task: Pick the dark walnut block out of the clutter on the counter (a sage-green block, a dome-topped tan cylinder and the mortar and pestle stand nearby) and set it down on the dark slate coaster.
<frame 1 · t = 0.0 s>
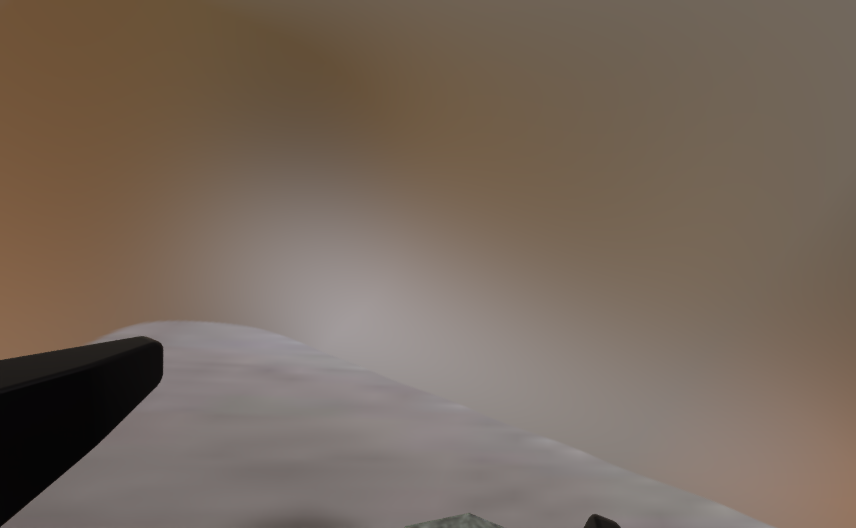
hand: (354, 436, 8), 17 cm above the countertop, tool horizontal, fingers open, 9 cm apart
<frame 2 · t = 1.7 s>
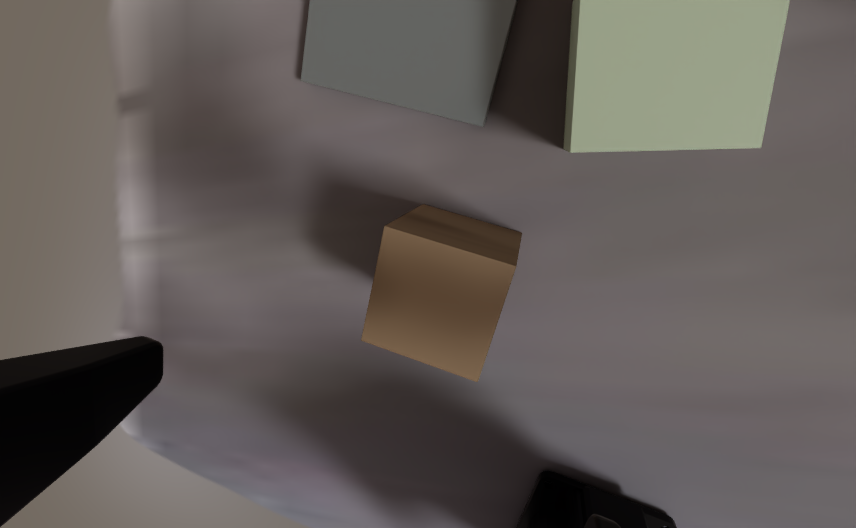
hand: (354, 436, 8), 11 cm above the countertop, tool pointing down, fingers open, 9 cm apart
sage block: (639, 76, 15), on the countertop
walnut block: (458, 264, 19), on the countertop
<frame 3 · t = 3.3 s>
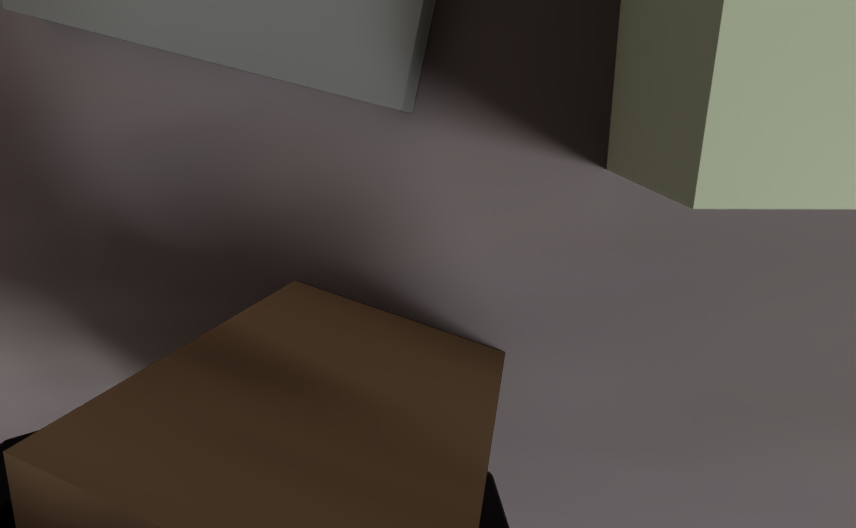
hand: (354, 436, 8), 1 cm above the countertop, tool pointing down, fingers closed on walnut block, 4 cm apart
walnut block: (374, 404, 9), on the countertop, touching gripper
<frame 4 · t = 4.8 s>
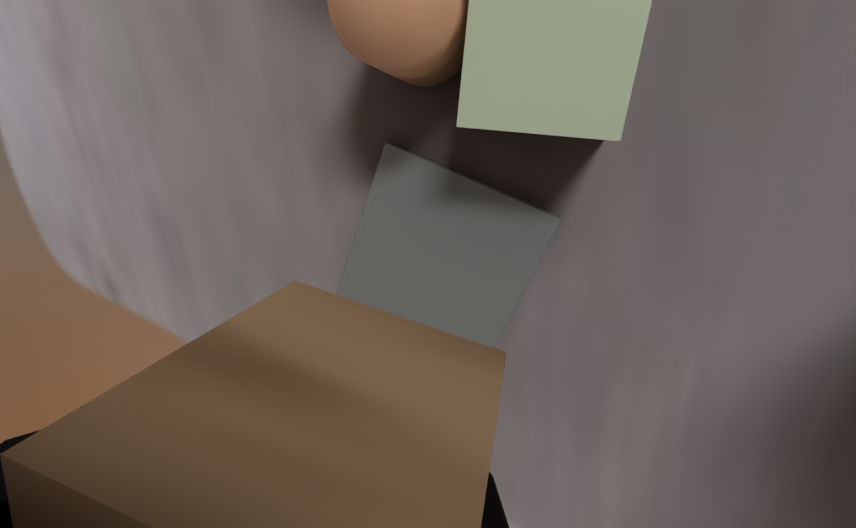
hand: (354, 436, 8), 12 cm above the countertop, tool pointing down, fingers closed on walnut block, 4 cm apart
sage block: (549, 65, 16), on the countertop
dome-topped tan cylinder: (425, 32, 16), on the countertop
slate coaster: (439, 259, 19), on the countertop
walnut block: (375, 405, 9), point 11 cm above the countertop, touching gripper
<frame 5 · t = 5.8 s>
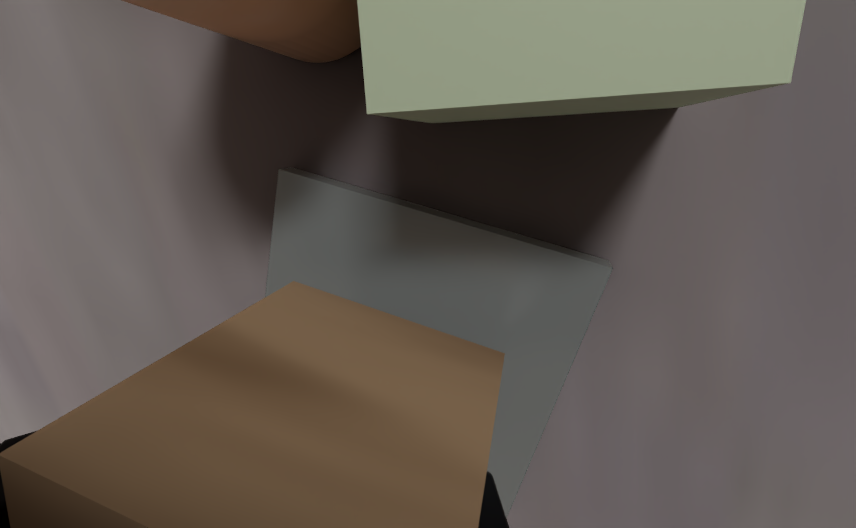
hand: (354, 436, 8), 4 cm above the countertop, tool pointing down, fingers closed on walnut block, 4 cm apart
slate coaster: (404, 350, 11), on the countertop
walnut block: (373, 405, 9), point 2 cm above the countertop, touching gripper
when the fingers open (3 cm above the countertop, at t = 6.5 s): walnut block drops 2 cm, resting on slate coaster.
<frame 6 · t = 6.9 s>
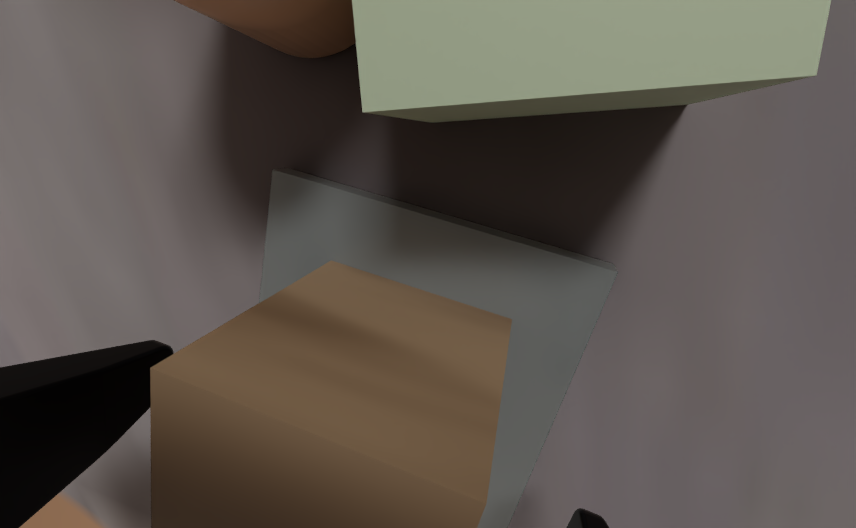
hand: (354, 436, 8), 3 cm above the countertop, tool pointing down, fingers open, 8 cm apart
slate coaster: (403, 355, 11), on the countertop
walnut block: (398, 368, 10), point 1 cm above the countertop, touching slate coaster
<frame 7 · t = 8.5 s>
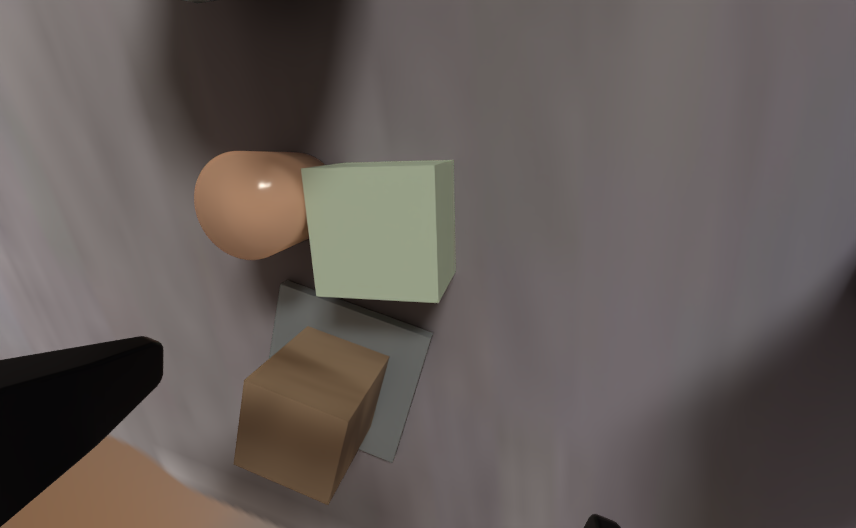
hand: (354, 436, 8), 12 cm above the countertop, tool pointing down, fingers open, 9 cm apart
sage block: (401, 217, 19), on the countertop
dome-topped tan cylinder: (299, 196, 19), on the countertop, tilted 5°
slate coaster: (343, 370, 22), on the countertop
walnut block: (339, 377, 21), point 1 cm above the countertop, touching slate coaster
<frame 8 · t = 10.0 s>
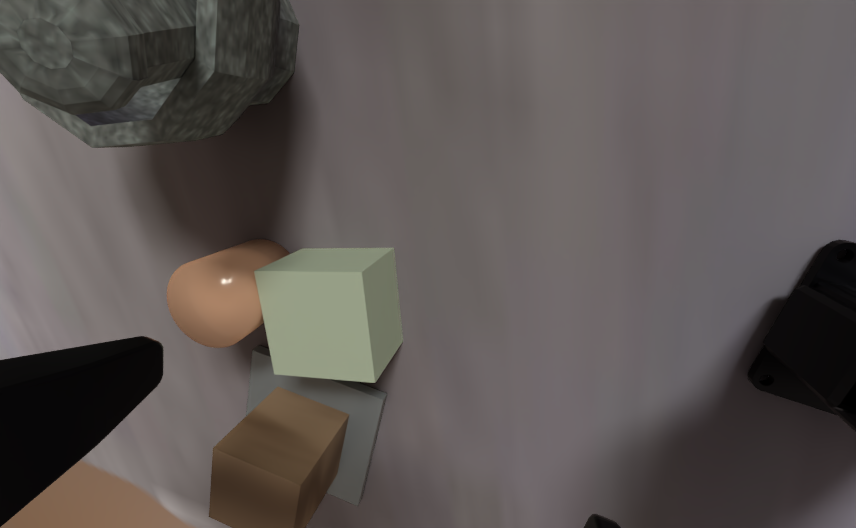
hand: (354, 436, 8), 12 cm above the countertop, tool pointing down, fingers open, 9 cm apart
sage block: (353, 294, 21), on the countertop
dome-topped tan cylinder: (265, 275, 22), on the countertop, tilted 6°
slate coaster: (312, 424, 24), on the countertop
mortar and pestle: (253, 44, 19), on the countertop
walnut block: (307, 431, 24), point 1 cm above the countertop, touching slate coaster
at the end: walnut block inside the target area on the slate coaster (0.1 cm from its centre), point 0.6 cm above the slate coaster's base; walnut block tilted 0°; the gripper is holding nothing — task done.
